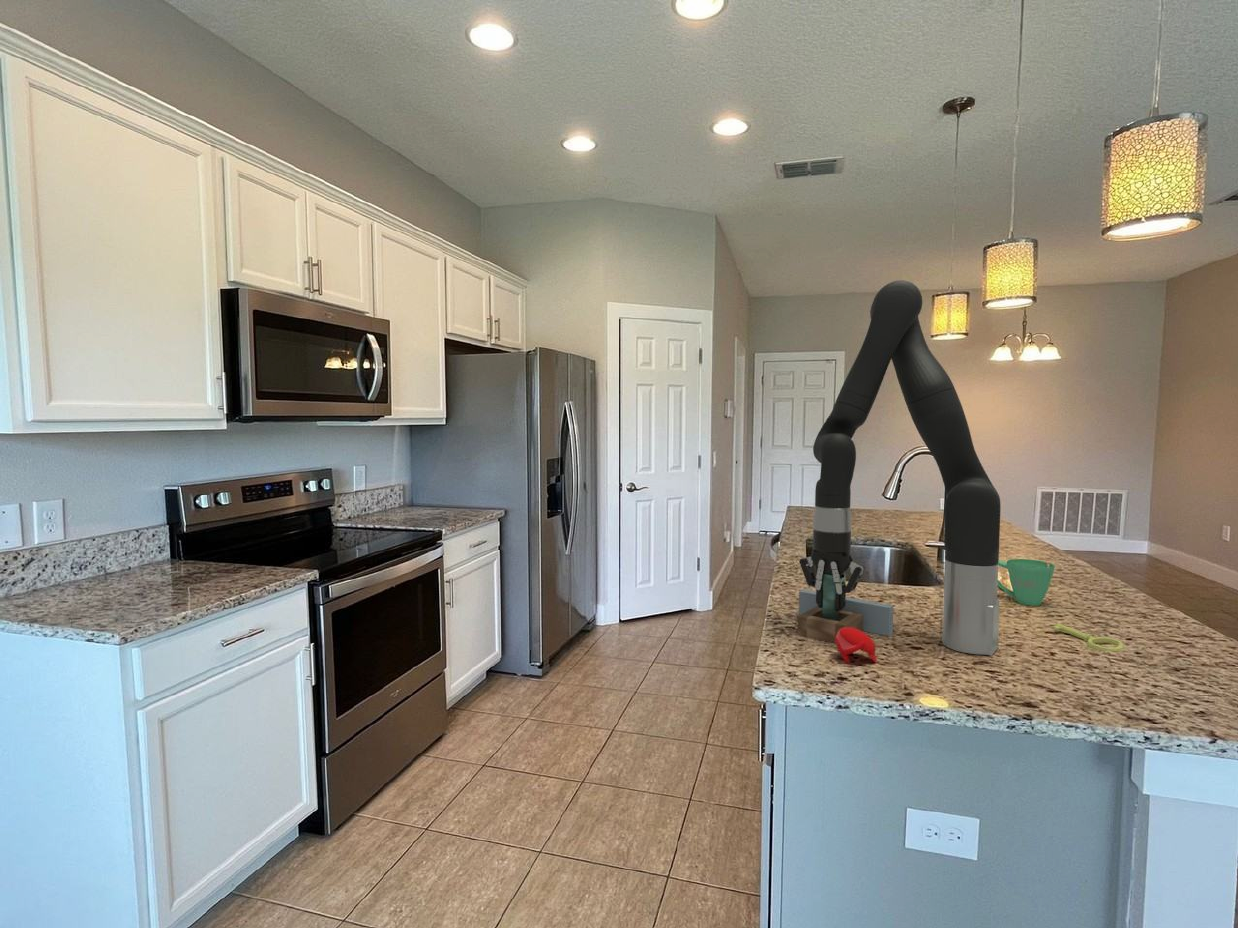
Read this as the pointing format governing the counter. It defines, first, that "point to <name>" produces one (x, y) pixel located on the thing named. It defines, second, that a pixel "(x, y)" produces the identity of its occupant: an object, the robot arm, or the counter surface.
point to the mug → (1027, 580)
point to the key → (1091, 639)
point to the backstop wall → (874, 613)
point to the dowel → (829, 598)
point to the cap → (854, 643)
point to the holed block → (827, 624)
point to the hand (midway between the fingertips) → (830, 608)
